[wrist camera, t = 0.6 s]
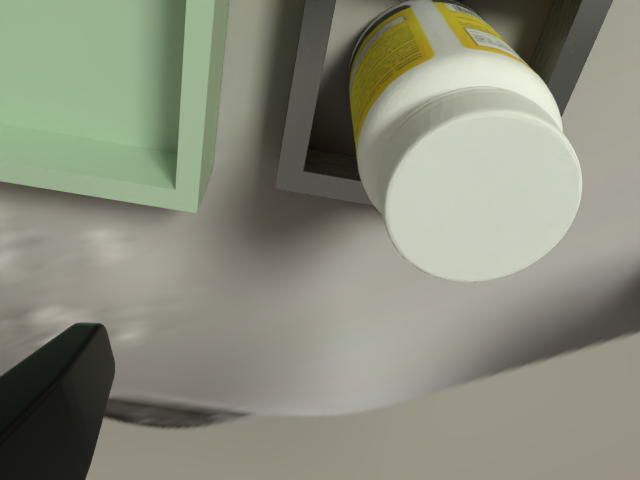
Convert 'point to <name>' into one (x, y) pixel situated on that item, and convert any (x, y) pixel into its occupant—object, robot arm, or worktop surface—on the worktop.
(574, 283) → the worktop surface
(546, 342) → the worktop surface
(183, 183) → the tray
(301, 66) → the pin socket
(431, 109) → the supplement bottle
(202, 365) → the worktop surface
